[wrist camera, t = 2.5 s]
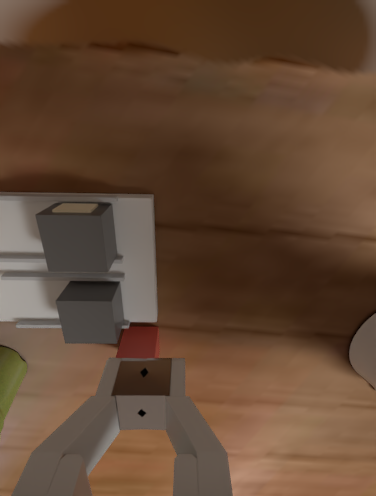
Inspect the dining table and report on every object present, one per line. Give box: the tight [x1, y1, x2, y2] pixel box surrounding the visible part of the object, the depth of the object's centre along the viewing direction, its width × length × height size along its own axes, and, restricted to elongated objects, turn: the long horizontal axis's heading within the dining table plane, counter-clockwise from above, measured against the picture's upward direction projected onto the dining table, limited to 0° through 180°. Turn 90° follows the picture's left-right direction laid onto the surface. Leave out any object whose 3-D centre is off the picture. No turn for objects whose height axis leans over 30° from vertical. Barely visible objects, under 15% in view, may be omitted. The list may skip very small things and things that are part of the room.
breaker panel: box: [0, 192, 158, 328], centre depth 26 cm, size 20×14×2 cm
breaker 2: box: [56, 281, 124, 344], centre depth 26 cm, size 5×5×3 cm
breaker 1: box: [35, 203, 117, 272], centre depth 23 cm, size 5×5×3 cm
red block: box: [116, 326, 159, 359], centre depth 30 cm, size 4×4×5 cm
